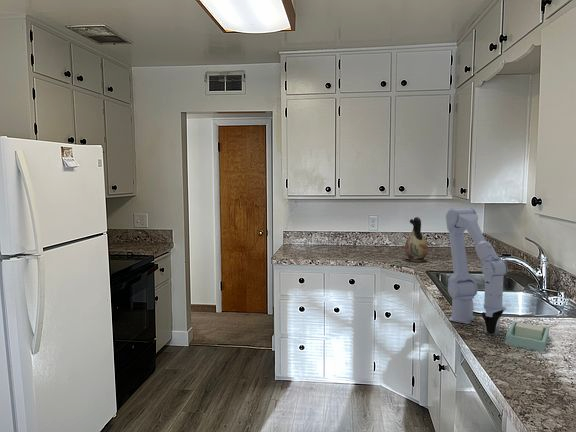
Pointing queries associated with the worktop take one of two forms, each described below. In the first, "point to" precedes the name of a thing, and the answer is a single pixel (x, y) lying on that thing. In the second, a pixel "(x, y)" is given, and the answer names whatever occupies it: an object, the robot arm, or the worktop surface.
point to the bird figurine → (416, 243)
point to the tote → (526, 339)
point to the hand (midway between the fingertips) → (492, 331)
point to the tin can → (495, 329)
